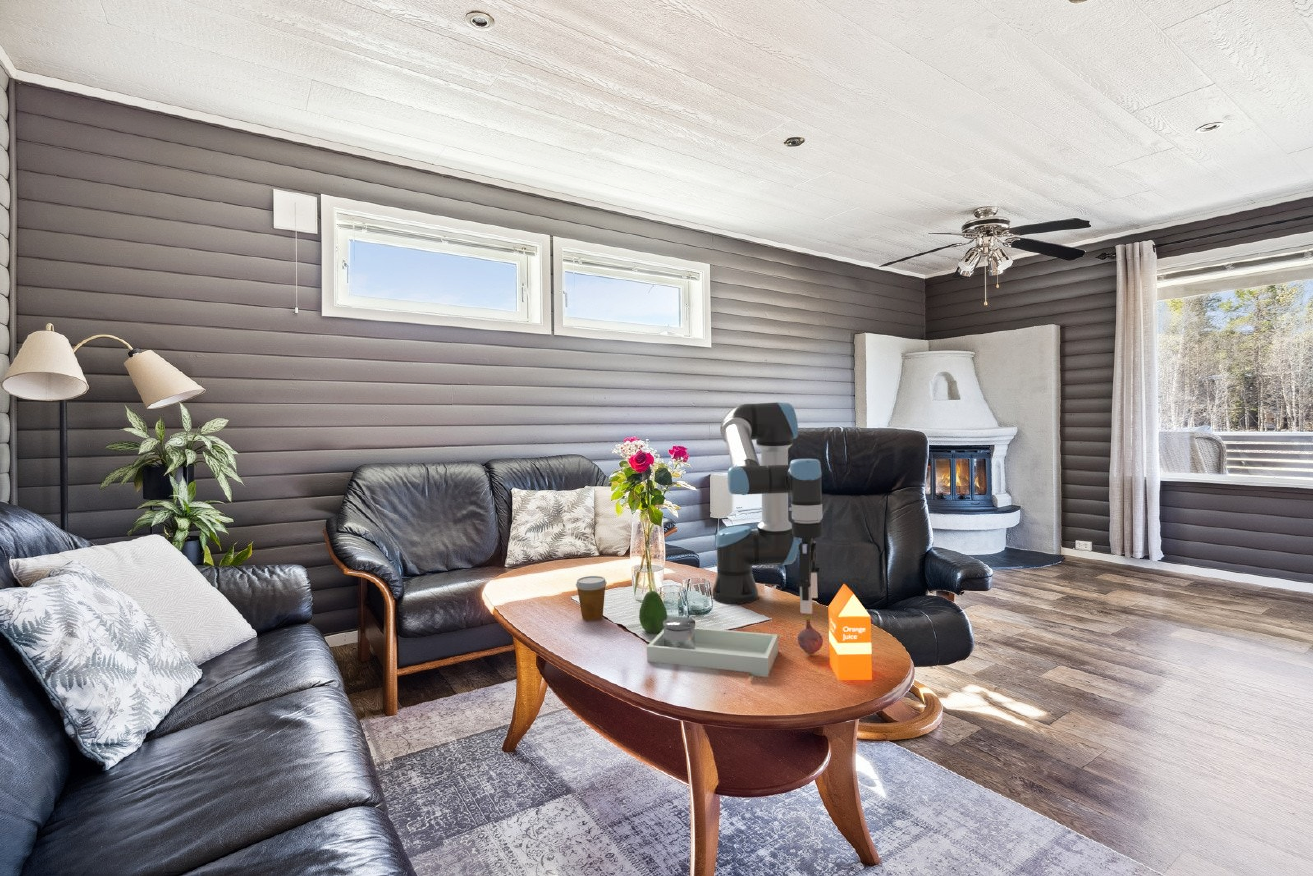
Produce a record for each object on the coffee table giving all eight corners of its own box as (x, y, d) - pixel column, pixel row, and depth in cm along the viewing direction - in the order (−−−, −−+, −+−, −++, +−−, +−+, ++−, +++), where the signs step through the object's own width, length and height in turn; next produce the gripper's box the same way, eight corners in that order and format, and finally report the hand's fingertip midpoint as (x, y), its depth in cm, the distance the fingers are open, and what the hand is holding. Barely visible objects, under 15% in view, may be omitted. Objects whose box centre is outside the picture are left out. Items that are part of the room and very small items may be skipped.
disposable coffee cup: (614, 616, 193) (612, 578, 192) (592, 625, 185) (590, 585, 185) (592, 611, 199) (591, 574, 198) (570, 619, 191) (569, 580, 191)
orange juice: (838, 680, 142) (836, 593, 141) (829, 664, 151) (827, 583, 150) (872, 679, 142) (871, 593, 141) (862, 664, 150) (860, 582, 150)
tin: (669, 644, 166) (668, 616, 165) (700, 647, 163) (699, 618, 163) (659, 656, 158) (658, 626, 158) (690, 659, 155) (690, 629, 155)
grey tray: (667, 641, 170) (667, 625, 170) (778, 652, 160) (778, 634, 160) (647, 664, 155) (646, 646, 155) (768, 677, 145) (767, 658, 145)
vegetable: (794, 651, 160) (793, 613, 159) (818, 649, 160) (817, 611, 160) (802, 660, 154) (801, 620, 153) (826, 659, 154) (825, 619, 154)
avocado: (654, 626, 182) (652, 586, 182) (673, 632, 177) (671, 590, 176) (633, 634, 177) (632, 592, 176) (653, 640, 171) (651, 597, 171)
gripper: (797, 513, 169) (800, 590, 169) (784, 528, 145) (787, 619, 146) (826, 513, 166) (828, 592, 167) (817, 529, 143) (820, 621, 143)
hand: (809, 605), depth 156 cm, fingers open, 13 cm apart
